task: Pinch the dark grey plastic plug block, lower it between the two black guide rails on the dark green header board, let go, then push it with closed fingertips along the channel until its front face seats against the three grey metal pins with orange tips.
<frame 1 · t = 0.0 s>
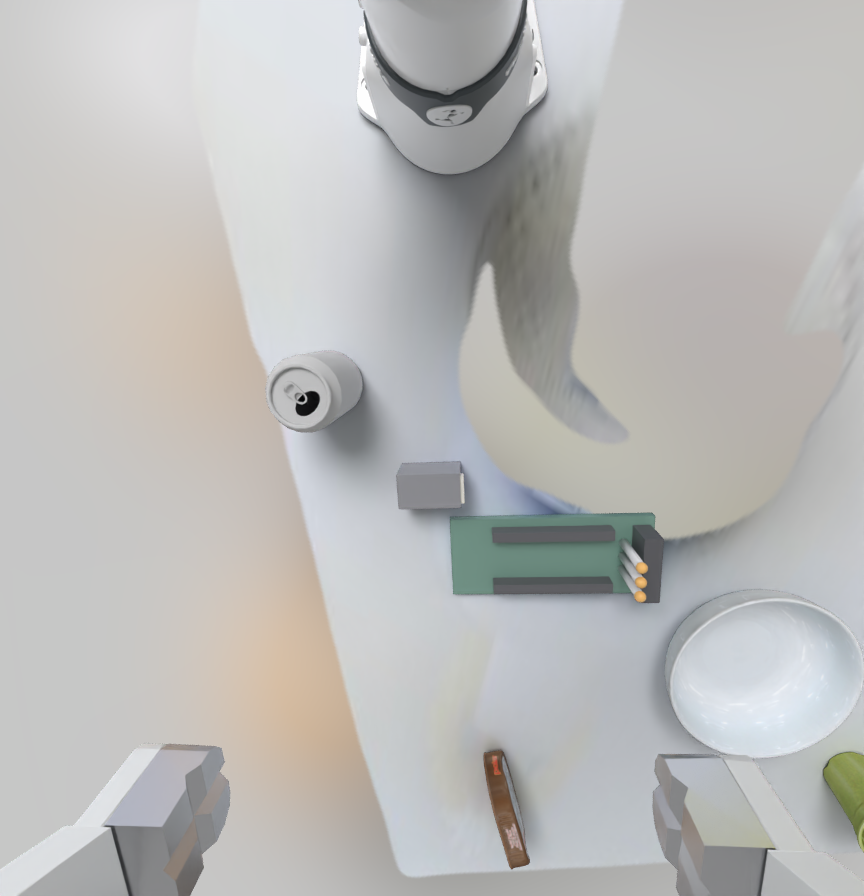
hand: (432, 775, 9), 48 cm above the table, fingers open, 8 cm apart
plug: (431, 478, 58), on the table
tin: (504, 777, 68), on the table
plant pot: (845, 768, 64), on the table
header board: (549, 552, 59), on the table
can: (333, 382, 56), on the table
serving bowl: (732, 643, 61), on the table
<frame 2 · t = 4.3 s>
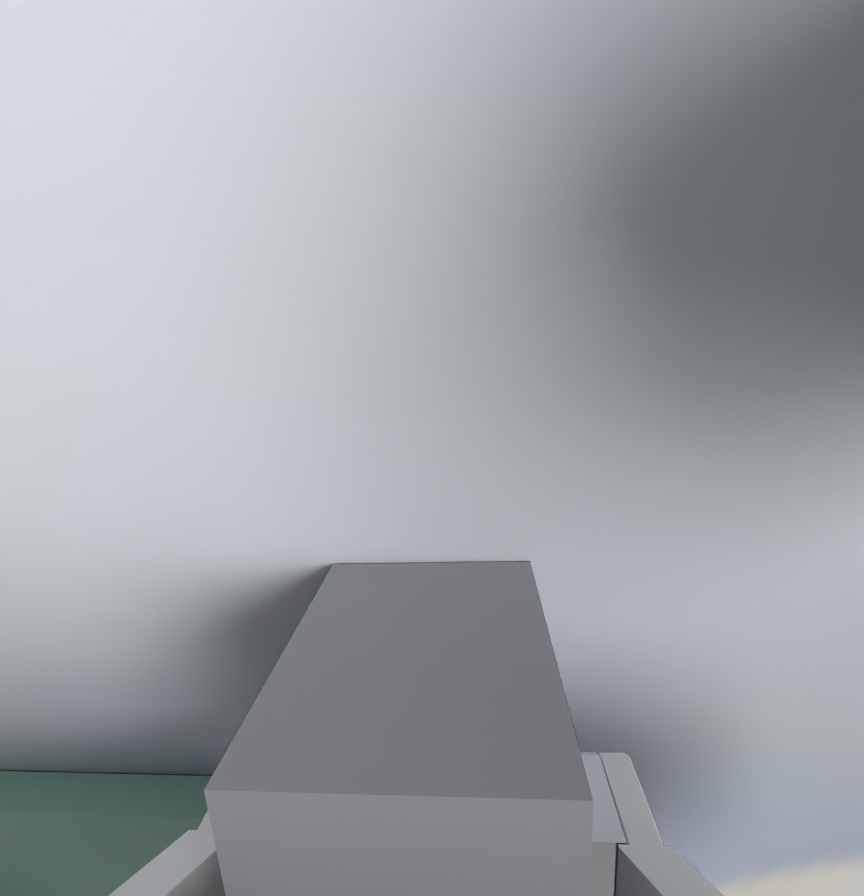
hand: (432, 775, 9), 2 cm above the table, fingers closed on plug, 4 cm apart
plug: (438, 707, 11), on the table, touching gripper
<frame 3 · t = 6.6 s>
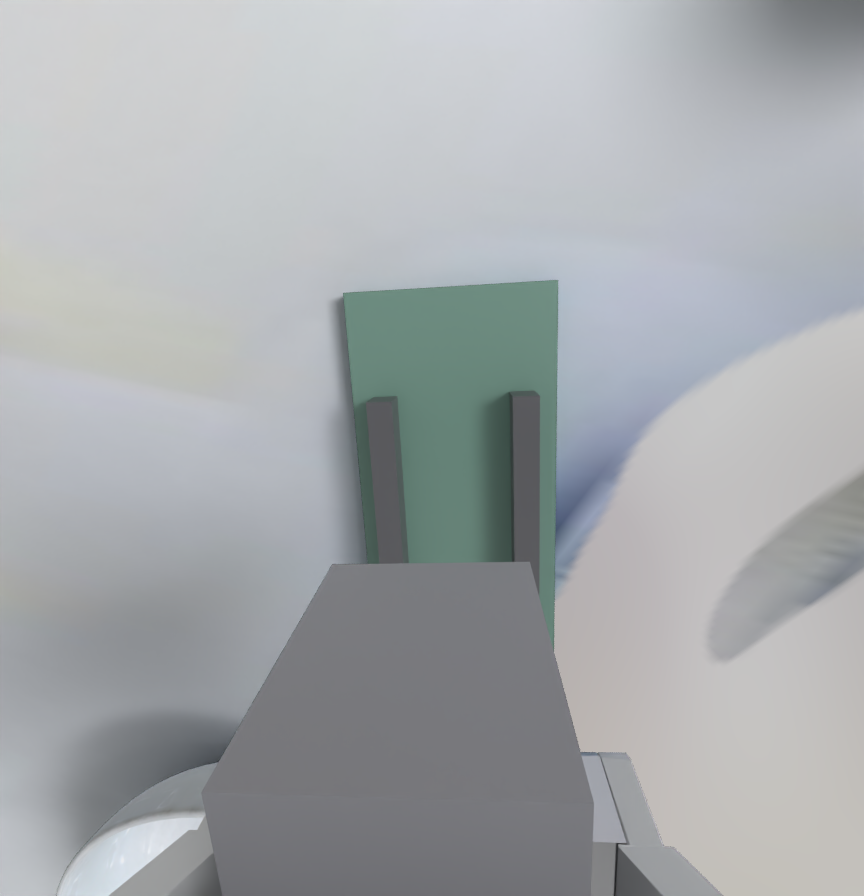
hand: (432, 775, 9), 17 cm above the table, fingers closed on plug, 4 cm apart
plug: (437, 709, 11), point 16 cm above the table, touching gripper
header board: (458, 519, 26), on the table
serving bowl: (283, 832, 33), on the table
when the fingers open (4 cm above the table, at t = 9.4 s): plug drops 1 cm, resting on header board.
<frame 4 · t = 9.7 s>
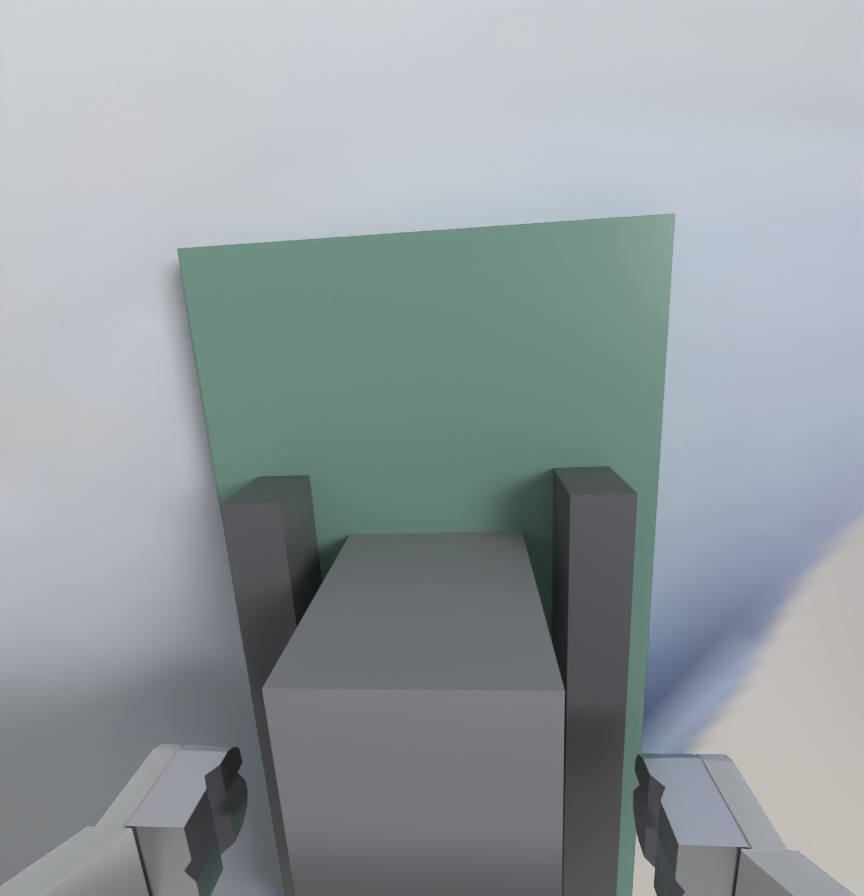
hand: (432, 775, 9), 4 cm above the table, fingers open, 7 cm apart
plug: (441, 662, 12), point 1 cm above the table, touching header board
header board: (445, 701, 13), on the table
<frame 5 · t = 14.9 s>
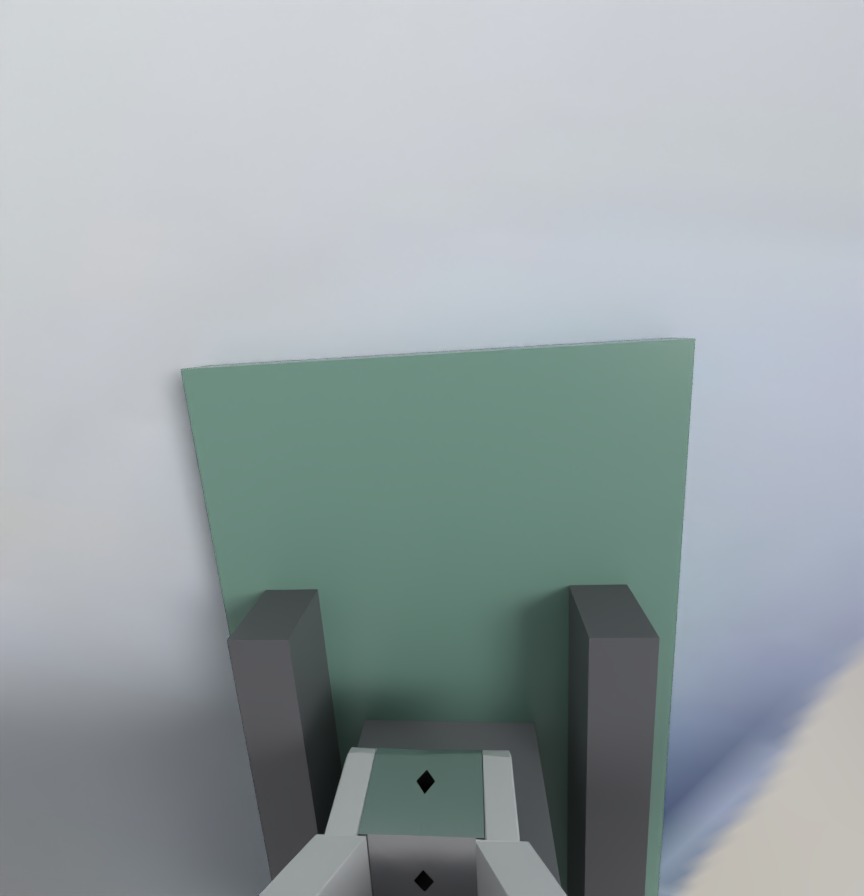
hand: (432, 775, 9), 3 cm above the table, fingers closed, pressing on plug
plug: (454, 837, 12), point 1 cm above the table, touching gripper
header board: (457, 798, 13), on the table
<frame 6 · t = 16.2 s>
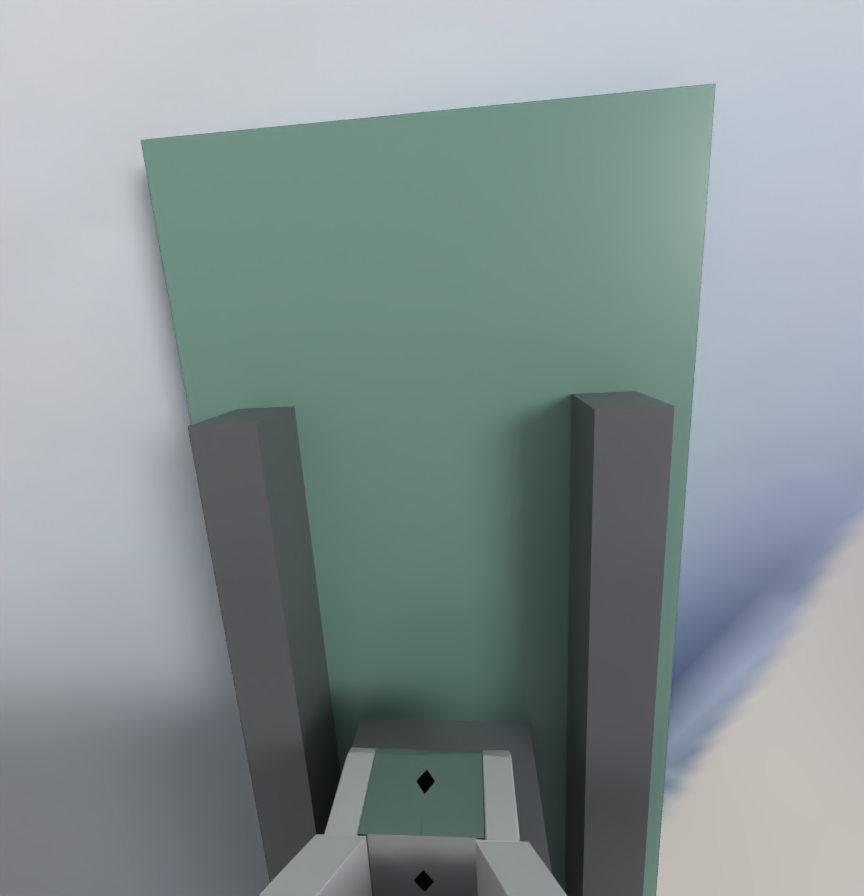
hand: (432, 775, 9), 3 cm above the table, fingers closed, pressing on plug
plug: (449, 836, 12), point 1 cm above the table, touching gripper, header board
header board: (448, 669, 12), on the table
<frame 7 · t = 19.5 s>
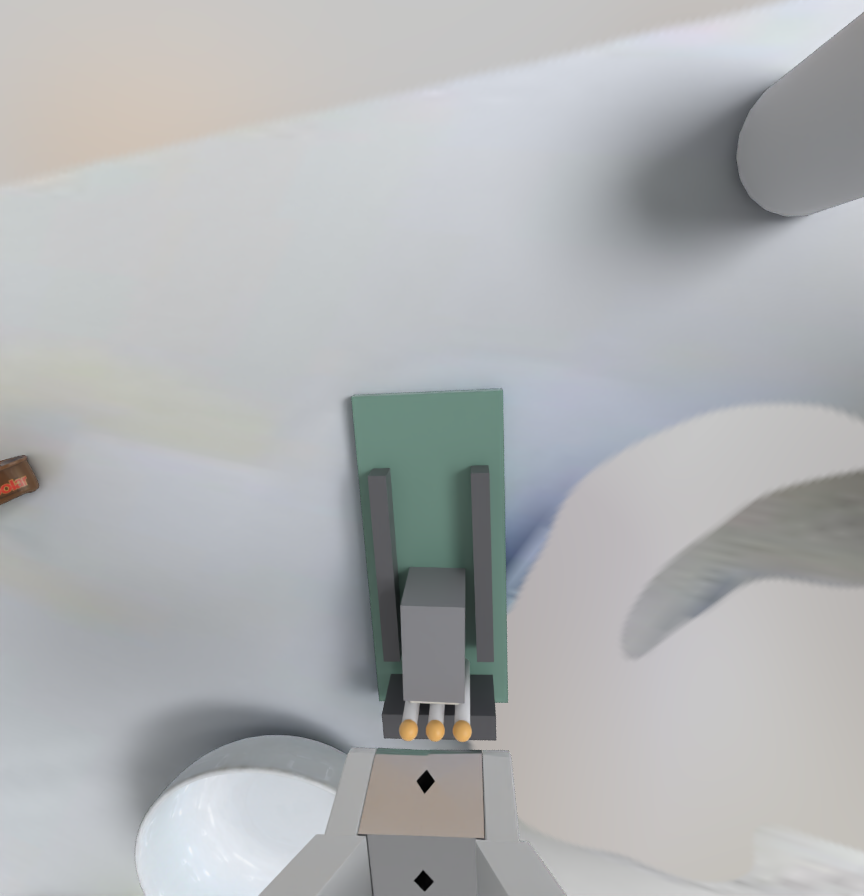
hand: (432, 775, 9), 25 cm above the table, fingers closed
plug: (438, 610, 35), point 1 cm above the table, touching header board
header board: (436, 554, 35), on the table
can: (794, 150, 28), on the table
serving bowl: (302, 794, 42), on the table
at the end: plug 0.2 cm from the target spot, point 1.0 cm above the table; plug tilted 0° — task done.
